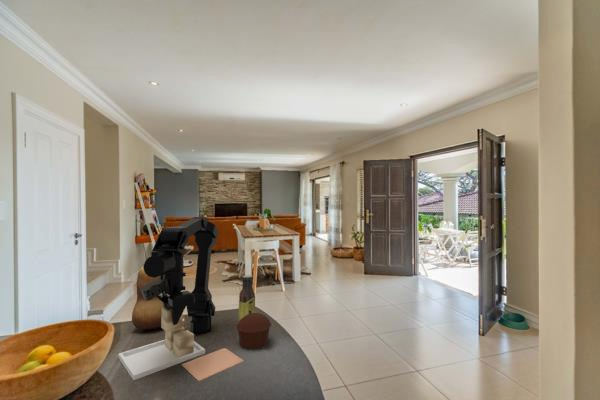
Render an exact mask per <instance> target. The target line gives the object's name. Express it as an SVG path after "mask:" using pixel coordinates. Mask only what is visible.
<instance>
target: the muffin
mask: <svg viewBox="0 0 600 400" xmlns="http://www.w3.org/2000/svg"><path fill="white" fill-rule="evenodd" d="M271 326H272V323H271V321H270V319H269V317H267V316H266V315H265V314H262V313H260V312H255V313H251V314H248V315H246V316H244V317H243V318H242V319H241V320H240V321H239V322H237V324H236V330H237V331H238V339H239V345H240V346H241V348H243V349H246V350H258V349H260V348H262V349H264V348H263V347H266V346H267V345H266V343H267V344H268V340H269V339H268V338H269V335H270V334H269V333H270V328H271ZM265 345H266V346H265Z"/></svg>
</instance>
